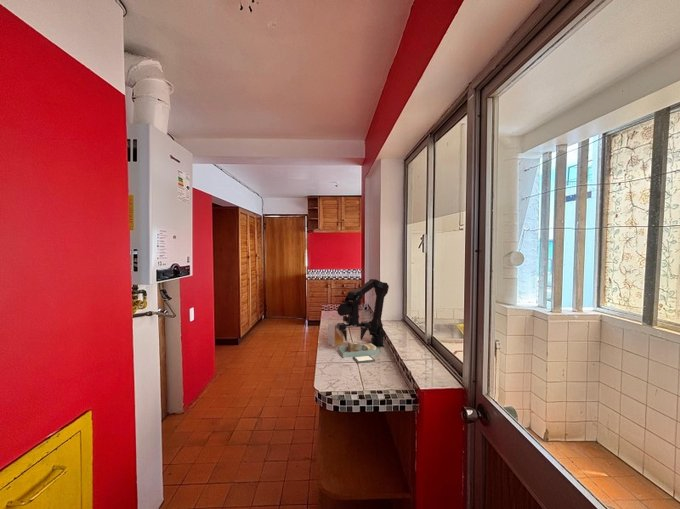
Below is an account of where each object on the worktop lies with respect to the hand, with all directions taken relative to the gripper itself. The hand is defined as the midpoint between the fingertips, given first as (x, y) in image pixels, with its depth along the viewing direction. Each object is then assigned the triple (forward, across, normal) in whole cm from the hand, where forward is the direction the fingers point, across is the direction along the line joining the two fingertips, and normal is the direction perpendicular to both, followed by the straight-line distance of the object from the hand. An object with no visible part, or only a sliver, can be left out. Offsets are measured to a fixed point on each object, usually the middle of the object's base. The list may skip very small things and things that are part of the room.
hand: (353, 340), depth 176 cm
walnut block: (+8, 0, 0) cm, 8 cm away
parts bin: (+7, -3, 0) cm, 8 cm away
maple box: (+8, -10, 0) cm, 12 cm away
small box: (+8, +5, -19) cm, 21 cm away
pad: (+7, -2, +12) cm, 14 cm away
